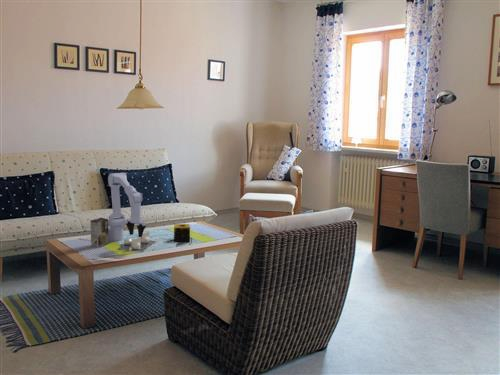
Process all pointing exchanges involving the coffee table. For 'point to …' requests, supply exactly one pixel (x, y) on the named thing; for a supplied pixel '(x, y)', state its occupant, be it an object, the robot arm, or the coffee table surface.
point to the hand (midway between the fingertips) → (135, 235)
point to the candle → (181, 233)
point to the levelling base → (128, 247)
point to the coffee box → (99, 232)
